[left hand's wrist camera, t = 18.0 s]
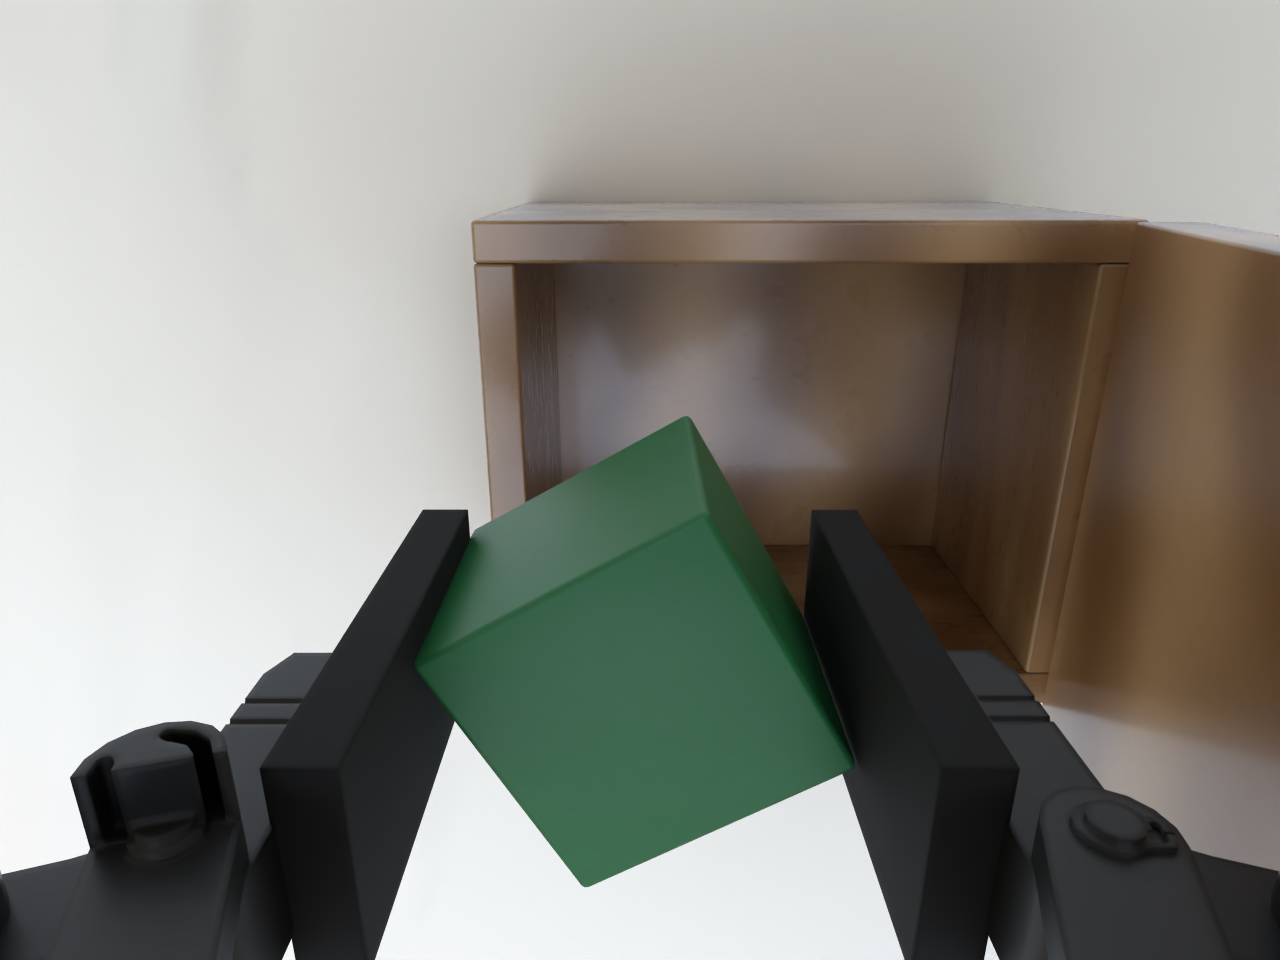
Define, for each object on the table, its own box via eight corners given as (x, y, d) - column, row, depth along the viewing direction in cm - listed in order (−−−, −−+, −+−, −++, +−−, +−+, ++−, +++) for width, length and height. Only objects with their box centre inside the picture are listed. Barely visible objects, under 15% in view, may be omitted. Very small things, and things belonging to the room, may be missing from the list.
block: (597, 710, 16) (583, 892, 12) (471, 529, 15) (408, 667, 11) (801, 610, 15) (859, 769, 11) (688, 412, 14) (707, 511, 10)
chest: (542, 555, 30) (503, 700, 22) (525, 202, 26) (470, 220, 18) (944, 556, 30) (1054, 703, 22) (993, 201, 26) (1151, 220, 18)
